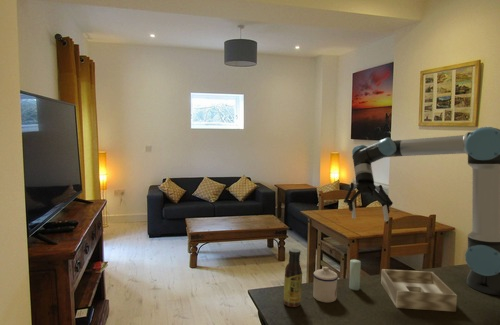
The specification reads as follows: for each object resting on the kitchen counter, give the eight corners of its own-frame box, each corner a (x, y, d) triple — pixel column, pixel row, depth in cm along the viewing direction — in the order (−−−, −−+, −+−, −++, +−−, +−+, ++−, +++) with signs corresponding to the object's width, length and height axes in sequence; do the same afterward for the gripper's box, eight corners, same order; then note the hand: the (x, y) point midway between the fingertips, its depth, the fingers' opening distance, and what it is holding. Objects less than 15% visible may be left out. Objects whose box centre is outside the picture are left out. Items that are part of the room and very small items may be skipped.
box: (431, 286, 140) (432, 271, 139) (455, 311, 120) (457, 295, 119) (381, 283, 142) (381, 269, 141) (396, 307, 122) (397, 291, 121)
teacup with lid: (340, 302, 125) (342, 272, 124) (316, 303, 124) (317, 272, 123) (329, 287, 137) (330, 259, 136) (307, 288, 136) (308, 260, 135)
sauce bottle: (290, 310, 119) (292, 254, 117) (279, 302, 124) (281, 249, 123) (304, 305, 123) (306, 251, 121) (293, 298, 128) (295, 246, 126)
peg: (358, 286, 139) (359, 259, 138) (360, 290, 135) (361, 263, 134) (348, 285, 139) (349, 259, 138) (350, 289, 135) (351, 263, 134)
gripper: (388, 182, 156) (396, 225, 144) (334, 178, 156) (338, 220, 144) (395, 173, 150) (404, 217, 138) (338, 168, 150) (342, 212, 138)
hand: (370, 219), depth 141 cm, fingers open, 13 cm apart
